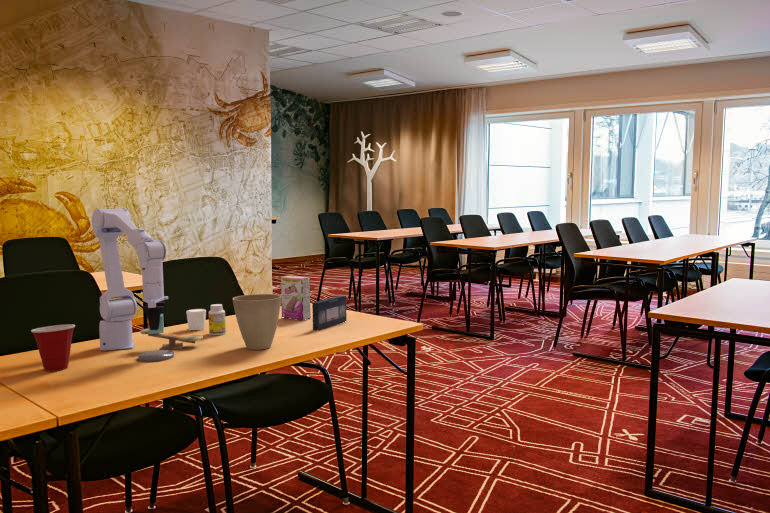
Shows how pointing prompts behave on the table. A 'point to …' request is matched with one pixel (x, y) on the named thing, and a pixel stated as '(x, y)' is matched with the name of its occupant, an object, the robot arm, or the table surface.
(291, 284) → the candy bar box
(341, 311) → the vhs cassette tape
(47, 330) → the plastic cup
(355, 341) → the table surface
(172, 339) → the balance
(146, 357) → the dish
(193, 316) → the white cup
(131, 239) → the robot arm
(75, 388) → the table surface
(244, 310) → the plant pot
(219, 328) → the supplement bottle
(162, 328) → the block
